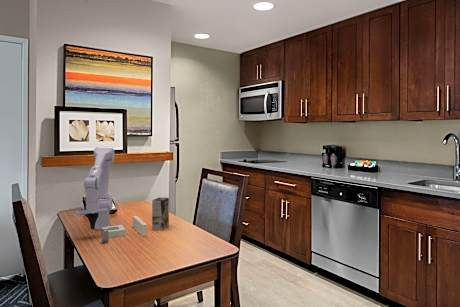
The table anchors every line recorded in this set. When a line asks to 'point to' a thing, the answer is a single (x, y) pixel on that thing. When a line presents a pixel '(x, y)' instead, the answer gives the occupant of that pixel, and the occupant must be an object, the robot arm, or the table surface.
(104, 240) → the dowel
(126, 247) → the table surface
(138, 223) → the board
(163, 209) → the coffee box
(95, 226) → the robot arm
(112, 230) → the socket block
